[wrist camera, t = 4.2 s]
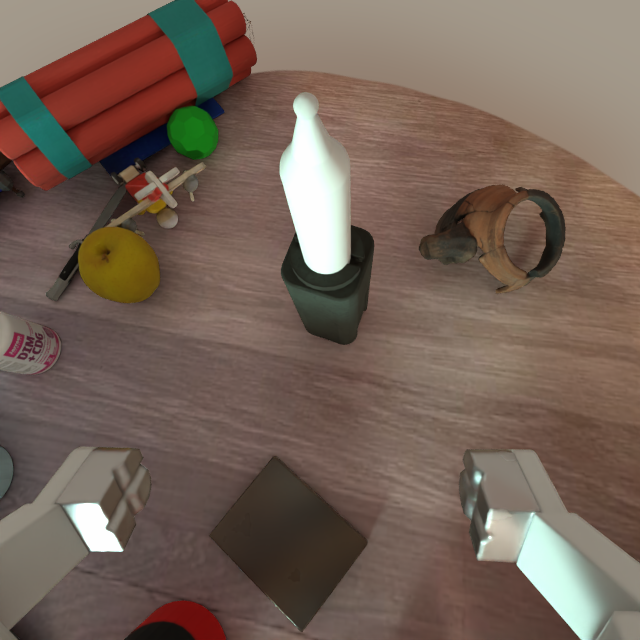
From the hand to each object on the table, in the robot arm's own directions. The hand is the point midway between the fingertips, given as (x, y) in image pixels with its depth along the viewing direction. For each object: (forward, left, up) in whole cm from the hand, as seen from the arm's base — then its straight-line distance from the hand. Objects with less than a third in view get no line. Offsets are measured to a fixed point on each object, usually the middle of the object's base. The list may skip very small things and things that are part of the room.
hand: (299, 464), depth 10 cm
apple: (+24, +1, -25) cm, 34 cm away
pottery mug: (+1, -22, -25) cm, 33 cm away
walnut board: (-2, +8, -25) cm, 26 cm away
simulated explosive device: (+37, -14, -15) cm, 42 cm away
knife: (+33, +1, -24) cm, 41 cm away
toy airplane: (+29, -7, -19) cm, 35 cm away
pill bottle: (+27, +12, -25) cm, 39 cm away
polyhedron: (+30, -14, -25) cm, 42 cm away
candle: (+7, -9, -25) cm, 27 cm away
